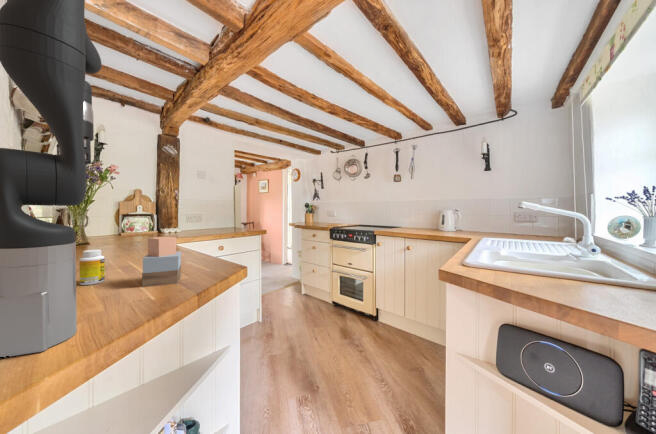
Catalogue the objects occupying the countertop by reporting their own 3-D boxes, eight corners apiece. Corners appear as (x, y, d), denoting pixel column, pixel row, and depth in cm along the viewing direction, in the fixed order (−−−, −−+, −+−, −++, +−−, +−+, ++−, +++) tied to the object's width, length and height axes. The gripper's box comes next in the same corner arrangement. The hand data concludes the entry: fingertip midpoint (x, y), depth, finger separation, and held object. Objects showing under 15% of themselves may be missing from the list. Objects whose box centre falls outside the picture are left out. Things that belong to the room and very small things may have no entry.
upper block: (178, 270, 74) (178, 256, 74) (142, 273, 70) (142, 258, 69) (180, 264, 82) (180, 251, 82) (149, 266, 77) (149, 253, 77)
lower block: (177, 284, 74) (177, 270, 73) (142, 288, 70) (142, 273, 70) (181, 276, 82) (181, 264, 82) (149, 279, 78) (149, 266, 78)
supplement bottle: (103, 283, 72) (103, 250, 72) (77, 287, 69) (77, 252, 68) (105, 279, 76) (105, 248, 76) (81, 282, 73) (81, 250, 73)
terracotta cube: (176, 253, 77) (176, 237, 77) (158, 256, 72) (158, 239, 72) (165, 252, 79) (165, 236, 79) (147, 255, 74) (147, 238, 74)
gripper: (104, 119, 59) (104, 183, 60) (82, 128, 66) (82, 185, 66) (60, 108, 53) (61, 179, 53) (41, 118, 59) (42, 182, 60)
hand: (73, 182), depth 60 cm, fingers open, 8 cm apart
